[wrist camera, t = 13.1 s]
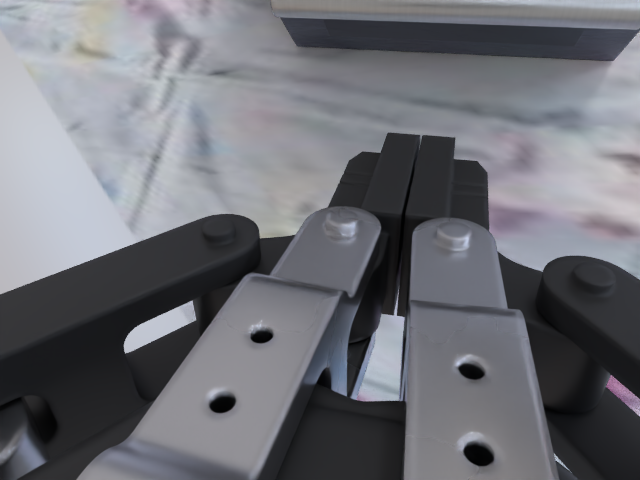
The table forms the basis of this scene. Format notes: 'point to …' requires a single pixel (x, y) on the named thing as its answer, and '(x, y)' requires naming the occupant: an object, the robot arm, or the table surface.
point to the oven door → (466, 26)
